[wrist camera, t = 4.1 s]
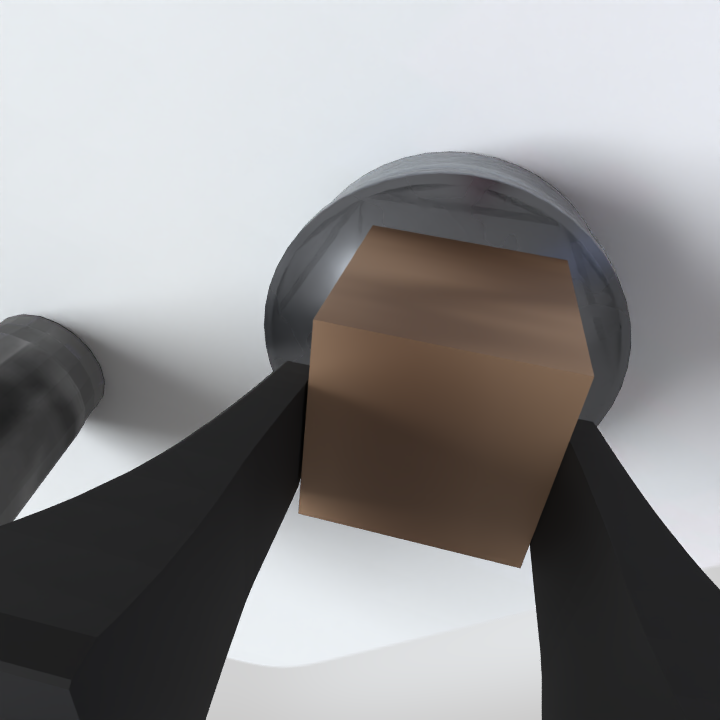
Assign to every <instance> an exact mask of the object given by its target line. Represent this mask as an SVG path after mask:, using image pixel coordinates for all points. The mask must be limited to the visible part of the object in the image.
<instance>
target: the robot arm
mask: <svg viewBox="0 0 720 720" xmlns="http://www.w3.org/2000/svg"><path fill="white" fill-rule="evenodd" d="M309 368H310V365H306V364H301V363H296V362H291V361H287V362H285V363H283V364H282V365H281V366H279V367H278V368H277V369H276V370H275V371H273V372H272V373H271V374H270V375H269V376H268V377H266V378H265V379H264V380H263V381H262V382H260V383H259V384H258V385H257V386H256V387H254V388H253V389H252V390H251V391H249V392H248V393H247V394H246V395H244V396H243V397H242V398H241V399H239V400H238V401H237V402H235V403H234V404H233V405H231V406H230V407H229V408H228V409H226V410H225V411H224V412H222V413H221V414H220V415H218V416H217V417H216V418H214V419H213V420H211V421H210V422H209V423H207V424H206V425H204V426H203V427H201V428H200V429H198V430H197V431H195V432H194V433H192V434H191V435H189V436H188V437H187V438H185V439H184V440H182V441H181V442H179V443H178V444H176V445H174V446H173V447H171V448H169V449H168V450H166V451H165V452H163V453H161V454H160V455H158V456H156V457H155V458H153V459H151V460H149V461H147V462H146V463H144V464H142V465H140V466H139V467H137V468H135V469H133V470H131V471H129V472H127V473H125V474H123V475H121V476H119V477H117V478H115V479H113V480H110V481H108V482H106V483H104V484H102V485H100V486H98V487H96V488H94V489H91V490H89V491H87V492H85V493H83V494H81V495H79V496H76V497H74V498H72V499H69V500H67V501H64V502H62V503H60V504H57V505H55V506H52V507H50V508H47V509H45V510H42V511H40V512H37V513H34V514H32V515H29V516H26V517H24V518H21V519H18V520H16V521H13V522H10V523H7V524H4V525H1V526H0V720H206V717H207V714H208V711H209V707H210V704H211V701H212V698H213V695H214V692H215V689H216V686H217V683H218V680H219V678H220V675H221V672H222V668H223V666H224V663H225V659H226V657H227V654H228V651H229V648H230V645H231V642H232V639H233V637H234V634H235V631H236V628H237V625H238V622H239V619H240V617H241V614H242V611H243V608H244V605H245V603H246V600H247V598H248V595H249V593H250V590H251V588H252V586H253V583H254V581H255V579H256V577H257V574H258V572H259V570H260V568H261V566H262V564H263V562H264V559H265V557H266V555H267V553H268V551H269V549H270V546H271V544H272V542H273V540H274V538H275V536H276V534H277V531H278V529H279V527H280V525H281V523H282V521H283V519H284V516H285V514H286V512H287V510H288V508H289V505H290V503H291V501H292V499H293V497H294V495H295V492H296V490H297V488H298V485H299V482H300V479H301V473H302V460H303V447H304V434H305V421H306V408H307V394H308V381H309ZM530 552H531V562H532V573H533V583H534V593H535V603H536V613H537V622H538V632H539V642H540V653H541V671H542V720H720V589H719V588H718V587H717V586H716V585H715V584H714V583H713V582H712V581H711V580H710V579H709V577H708V576H707V575H706V574H705V573H704V572H703V571H702V569H701V568H700V567H699V566H698V565H697V564H696V563H695V561H694V560H693V559H692V558H691V557H690V556H689V554H688V553H687V552H686V551H685V549H684V548H683V547H682V546H681V544H680V543H679V542H678V541H677V539H676V538H675V537H674V536H673V535H672V533H671V532H670V531H669V530H668V528H667V527H666V526H665V524H664V523H663V522H662V521H661V519H660V518H659V517H658V515H657V514H656V513H655V511H654V510H653V509H652V507H651V506H650V505H649V503H648V502H647V500H646V499H645V498H644V496H643V495H642V493H641V492H640V491H639V489H638V488H637V486H636V485H635V484H634V482H633V481H632V479H631V478H630V476H629V475H628V473H627V472H626V470H625V469H624V467H623V466H622V465H621V463H620V462H619V460H618V459H617V457H616V456H615V454H614V453H613V451H612V449H611V448H610V446H609V445H608V443H607V442H606V440H605V439H604V437H603V436H602V434H601V433H600V431H599V430H598V428H597V427H596V425H595V424H594V423H593V422H591V421H586V420H581V419H578V420H577V423H576V425H575V428H574V431H573V433H572V436H571V438H570V441H569V444H568V446H567V449H566V451H565V454H564V457H563V459H562V462H561V464H560V467H559V469H558V472H557V475H556V477H555V480H554V482H553V485H552V488H551V490H550V493H549V495H548V498H547V501H546V503H545V506H544V508H543V511H542V514H541V516H540V519H539V521H538V524H537V527H536V529H535V532H534V534H533V537H532V540H531V542H530Z"/></svg>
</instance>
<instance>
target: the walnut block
mask: <svg viewBox="0 0 720 720" xmlns="http://www.w3.org/2000/svg"><path fill="white" fill-rule="evenodd" d="M593 379H594V373H593V369H592V365H591V360H590V356H589V351H588V347H587V343H586V338H585V334H584V330H583V325H582V321H581V317H580V312H579V308H578V304H577V299H576V295H575V291H574V286H573V282H572V277H571V273H570V269H569V264H568V260H563V259H558V258H552V257H547V256H541V255H536V254H530V253H525V252H519V251H513V250H508V249H502V248H497V247H491V246H486V245H480V244H475V243H469V242H464V241H458V240H452V239H447V238H441V237H436V236H430V235H425V234H419V233H414V232H408V231H402V230H397V229H391V228H386V227H380V226H375V225H373V226H372V227H371V229H370V230H369V232H368V233H367V235H366V237H365V238H364V240H363V241H362V243H361V245H360V246H359V248H358V249H357V251H356V253H355V254H354V256H353V257H352V259H351V260H350V262H349V264H348V265H347V267H346V268H345V270H344V272H343V273H342V275H341V276H340V278H339V279H338V281H337V283H336V284H335V286H334V287H333V289H332V291H331V292H330V294H329V295H328V297H327V298H326V300H325V302H324V303H323V305H322V306H321V308H320V310H319V311H318V313H317V314H316V316H315V318H314V319H313V329H312V342H311V355H310V368H309V381H308V394H307V408H306V421H305V434H304V447H303V460H302V473H301V486H300V499H299V512H298V513H299V514H303V515H307V516H311V517H315V518H319V519H323V520H327V521H331V522H335V523H339V524H343V525H347V526H351V527H355V528H359V529H363V530H367V531H371V532H376V533H380V534H384V535H388V536H392V537H396V538H400V539H404V540H408V541H412V542H416V543H420V544H424V545H428V546H432V547H436V548H440V549H444V550H449V551H453V552H457V553H461V554H465V555H469V556H473V557H477V558H481V559H485V560H489V561H493V562H497V563H501V564H505V565H509V566H513V567H517V568H521V565H522V563H523V560H524V558H525V555H526V552H527V550H528V547H529V545H530V542H531V540H532V537H533V534H534V532H535V529H536V527H537V524H538V521H539V519H540V516H541V514H542V511H543V508H544V506H545V503H546V501H547V498H548V495H549V493H550V490H551V488H552V485H553V482H554V480H555V477H556V475H557V472H558V469H559V467H560V464H561V462H562V459H563V457H564V454H565V451H566V449H567V446H568V444H569V441H570V438H571V436H572V433H573V431H574V428H575V425H576V423H577V420H578V418H579V415H580V412H581V410H582V407H583V405H584V402H585V399H586V397H587V394H588V392H589V389H590V387H591V384H592V381H593Z"/></svg>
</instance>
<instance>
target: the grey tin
mask: <svg viewBox="0 0 720 720" xmlns="http://www.w3.org/2000/svg"><path fill="white" fill-rule="evenodd" d="M373 225H375V226H380V227H386V228H391V229H397V230H402V231H408V232H414V233H419V234H425V235H430V236H436V237H441V238H447V239H452V240H458V241H464V242H469V243H475V244H480V245H486V246H491V247H497V248H502V249H508V250H513V251H519V252H525V253H530V254H536V255H541V256H547V257H552V258H558V259H563V260H568V264H569V269H570V273H571V277H572V282H573V286H574V291H575V295H576V299H577V304H578V308H579V312H580V317H581V321H582V325H583V330H584V334H585V338H586V343H587V347H588V351H589V356H590V360H591V365H592V369H593V373H594V379H593V381H592V384H591V387H590V389H589V392H588V394H587V397H586V399H585V402H584V405H583V407H582V410H581V412H580V415H579V418H578V419H581V420H586V421H591V422H593V423H594V424H595V425H596V427H597V426H598V424H599V423H600V422H601V421H602V419H603V418H604V416H605V415H606V414H607V412H608V411H609V409H610V408H611V406H612V405H613V403H614V401H615V399H616V397H617V395H618V393H619V391H620V389H621V386H622V383H623V380H624V377H625V374H626V371H627V368H628V361H629V355H630V348H631V324H630V319H629V313H628V308H627V302H626V299H625V297H624V294H623V291H622V288H621V285H620V283H619V280H618V277H617V275H616V272H615V270H614V268H613V266H612V264H611V262H610V261H609V259H608V257H607V255H606V253H605V252H604V250H603V248H602V247H601V246H600V245H599V243H598V242H597V241H596V239H595V238H594V237H593V236H592V234H591V232H590V230H589V228H588V227H587V225H586V223H585V221H584V220H583V218H582V217H581V216H580V215H579V213H578V212H577V211H576V209H575V208H574V207H573V206H572V204H571V203H570V202H569V201H568V200H567V199H566V198H565V197H564V196H563V195H562V194H560V193H559V192H558V191H557V190H556V189H555V188H554V187H552V186H551V185H550V184H548V183H547V182H545V181H544V180H543V179H541V178H540V177H538V176H537V175H535V174H533V173H531V172H529V171H527V170H525V169H523V168H521V167H519V166H517V165H515V164H512V163H509V162H506V161H503V160H501V159H498V158H495V157H490V156H485V155H480V154H475V153H465V152H450V151H449V152H434V153H424V154H419V155H415V156H410V157H405V158H402V159H399V160H396V161H393V162H390V163H388V164H385V165H383V166H381V167H379V168H377V169H375V170H373V171H371V172H369V173H367V174H365V175H364V176H362V177H361V178H359V179H358V180H357V181H355V182H354V183H352V184H351V185H349V186H348V187H347V188H346V189H345V190H344V191H343V192H342V193H341V194H340V195H338V196H337V197H336V198H335V199H334V200H333V202H331V203H330V204H328V205H327V206H325V207H324V208H323V209H322V210H321V211H320V212H319V213H317V214H316V215H315V216H314V217H313V218H312V219H311V220H310V221H309V222H308V223H307V224H306V225H305V226H304V228H303V229H302V230H301V231H300V233H299V234H298V235H297V237H296V238H295V239H294V240H293V242H292V243H291V244H290V246H289V247H288V248H287V250H286V252H285V253H284V255H283V257H282V259H281V260H280V262H279V264H278V266H277V268H276V270H275V273H274V276H273V278H272V281H271V284H270V286H269V291H268V296H267V300H266V305H265V320H264V329H265V341H266V347H267V352H268V356H269V360H270V364H271V367H272V369H273V371H275V370H276V369H277V368H278V367H279V366H281V365H282V364H283V363H285V362H287V361H291V362H296V363H301V364H306V365H310V355H311V342H312V329H313V319H314V318H315V316H316V314H317V313H318V311H319V310H320V308H321V306H322V305H323V303H324V302H325V300H326V298H327V297H328V295H329V294H330V292H331V291H332V289H333V287H334V286H335V284H336V283H337V281H338V279H339V278H340V276H341V275H342V273H343V272H344V270H345V268H346V267H347V265H348V264H349V262H350V260H351V259H352V257H353V256H354V254H355V253H356V251H357V249H358V248H359V246H360V245H361V243H362V241H363V240H364V238H365V237H366V235H367V233H368V232H369V230H370V229H371V227H372V226H373Z"/></svg>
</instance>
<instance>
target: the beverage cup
mask: <svg viewBox="0 0 720 720" xmlns="http://www.w3.org/2000/svg"><path fill="white" fill-rule="evenodd" d="M103 391H104V379H103V375H102V372H101V368H100V365H99V364H98V362H97V360H96V359H95V357H94V356H93V354H92V352H91V351H90V349H89V348H88V347H87V346H86V345H85V344H84V343H83V342H82V341H81V340H80V339H79V338H78V337H77V336H76V335H74V334H73V333H71V332H70V331H68V330H67V329H65V328H64V327H62V326H61V325H59V324H58V323H55V322H52V321H50V320H47V319H45V318H42V317H40V316H31V315H23V314H22V315H18V316H13V317H9V318H7V319H5V320H4V321H2V322H1V323H0V526H1V525H4V524H7V523H10V522H13V521H14V519H15V518H16V517H17V515H18V514H19V513H20V511H21V510H22V509H23V507H24V506H25V505H26V503H27V502H28V501H29V499H30V498H31V497H32V495H33V494H34V493H35V491H36V490H37V488H38V487H39V486H40V484H41V483H42V482H43V480H44V479H45V478H46V476H47V475H48V474H49V472H50V471H51V470H52V468H53V467H54V466H55V464H56V463H57V462H58V460H59V459H60V458H61V456H62V455H63V453H64V452H65V451H66V449H67V448H68V447H69V445H70V444H71V443H72V441H73V440H74V439H75V437H76V436H77V435H78V433H79V431H80V430H81V428H82V426H83V425H84V423H85V420H86V419H87V417H88V416H89V414H90V413H91V411H92V410H93V409H94V408H95V407H96V406H97V404H98V403H99V401H100V399H101V398H102V396H103Z"/></svg>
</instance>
